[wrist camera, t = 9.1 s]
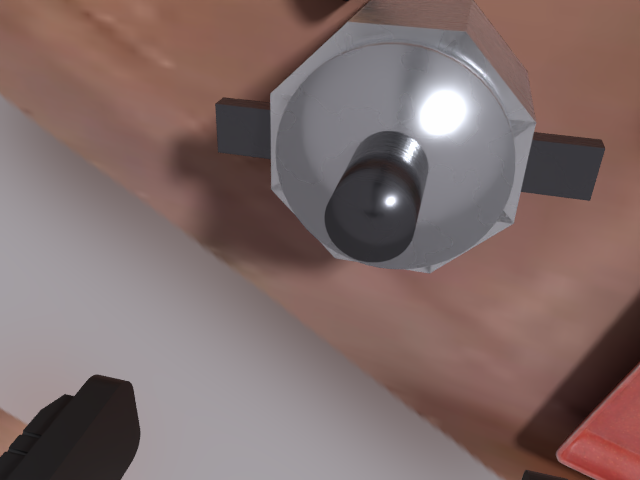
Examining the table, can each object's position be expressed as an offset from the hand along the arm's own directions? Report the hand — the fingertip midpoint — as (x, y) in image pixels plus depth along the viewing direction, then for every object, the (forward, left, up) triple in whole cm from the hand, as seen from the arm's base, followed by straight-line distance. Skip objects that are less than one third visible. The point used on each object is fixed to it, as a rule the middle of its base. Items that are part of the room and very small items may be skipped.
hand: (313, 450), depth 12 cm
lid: (0, -1, -18) cm, 18 cm away
